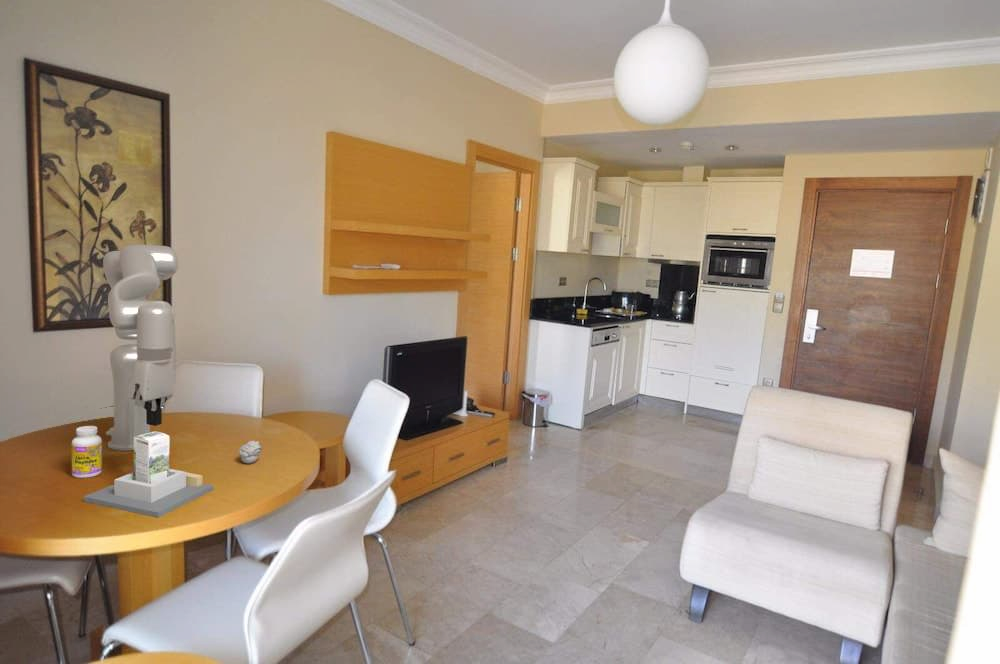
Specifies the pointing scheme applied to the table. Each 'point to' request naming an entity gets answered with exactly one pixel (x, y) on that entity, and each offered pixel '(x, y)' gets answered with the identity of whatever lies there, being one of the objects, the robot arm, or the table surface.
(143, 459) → the syrup box
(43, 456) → the table surface
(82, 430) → the supplement bottle
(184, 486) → the socket jig
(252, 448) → the white wrinkled round lump
